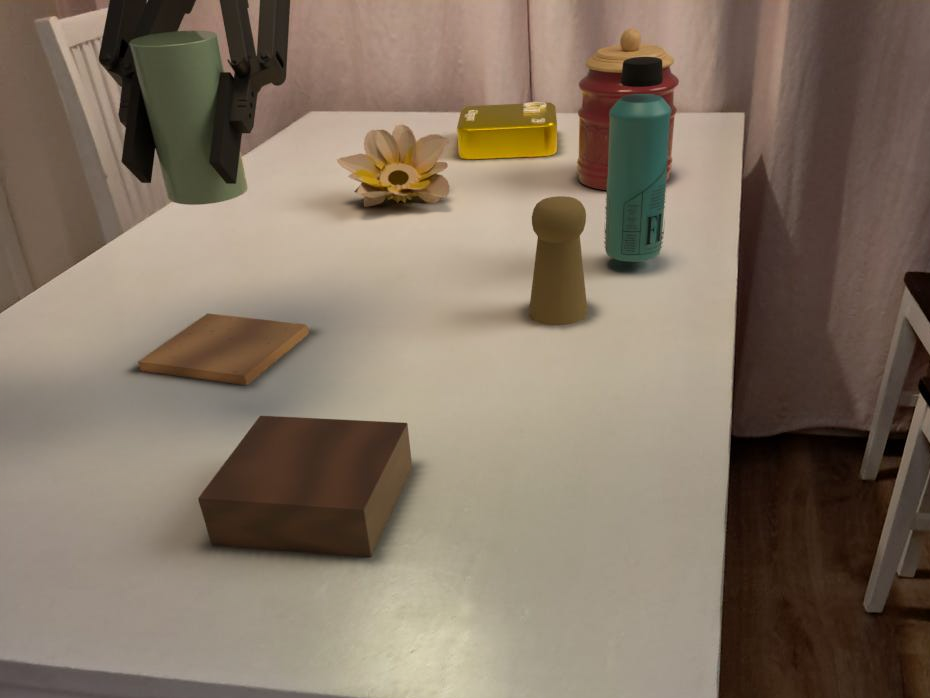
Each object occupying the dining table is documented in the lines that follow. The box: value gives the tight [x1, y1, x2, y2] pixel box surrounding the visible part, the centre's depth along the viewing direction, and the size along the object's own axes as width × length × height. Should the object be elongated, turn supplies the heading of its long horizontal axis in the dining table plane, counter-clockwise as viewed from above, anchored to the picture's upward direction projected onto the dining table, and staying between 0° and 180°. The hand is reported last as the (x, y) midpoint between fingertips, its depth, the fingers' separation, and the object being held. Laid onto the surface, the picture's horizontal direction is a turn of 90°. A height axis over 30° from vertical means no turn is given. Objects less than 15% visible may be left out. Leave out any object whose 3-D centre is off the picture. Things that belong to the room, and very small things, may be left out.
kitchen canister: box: [576, 28, 680, 191], centre depth 122 cm, size 13×13×18 cm
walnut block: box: [197, 415, 413, 558], centre depth 68 cm, size 12×12×4 cm
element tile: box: [456, 101, 558, 161], centre depth 143 cm, size 15×15×5 cm
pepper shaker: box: [528, 195, 588, 326], centre depth 91 cm, size 6×6×11 cm
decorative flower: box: [336, 123, 450, 208], centre depth 121 cm, size 15×11×10 cm
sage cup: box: [129, 30, 249, 206], centre depth 67 cm, size 6×6×10 cm
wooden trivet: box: [137, 312, 310, 386], centre depth 91 cm, size 12×12×1 cm
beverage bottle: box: [603, 57, 671, 262], centre depth 97 cm, size 6×7×20 cm
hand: (179, 172), depth 66 cm, fingers closed on sage cup, 6 cm apart
